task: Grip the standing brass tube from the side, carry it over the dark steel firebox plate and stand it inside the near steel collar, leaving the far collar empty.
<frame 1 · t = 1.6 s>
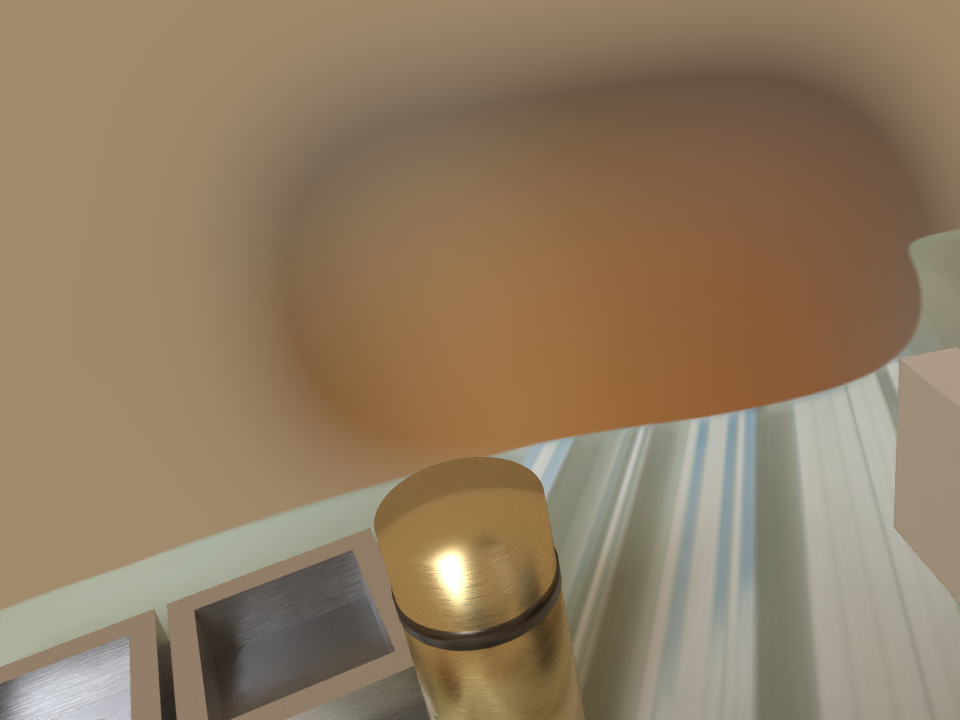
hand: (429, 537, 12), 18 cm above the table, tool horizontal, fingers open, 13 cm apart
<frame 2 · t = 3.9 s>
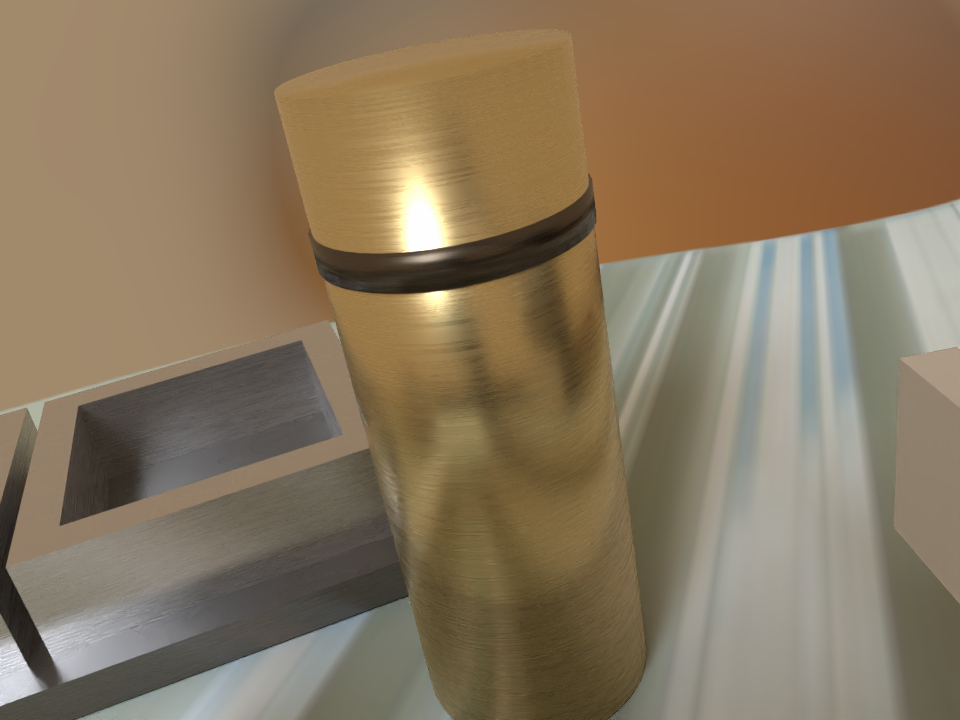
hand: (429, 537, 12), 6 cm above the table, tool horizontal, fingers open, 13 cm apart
tube: (537, 653, 19), on the table
firebox plate: (70, 583, 24), on the table
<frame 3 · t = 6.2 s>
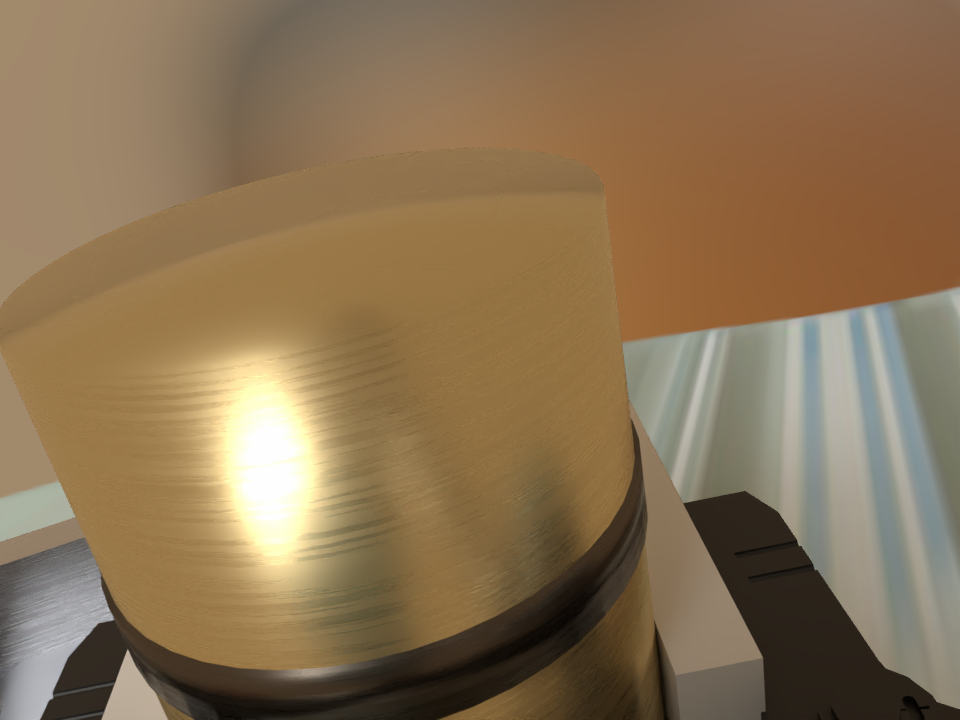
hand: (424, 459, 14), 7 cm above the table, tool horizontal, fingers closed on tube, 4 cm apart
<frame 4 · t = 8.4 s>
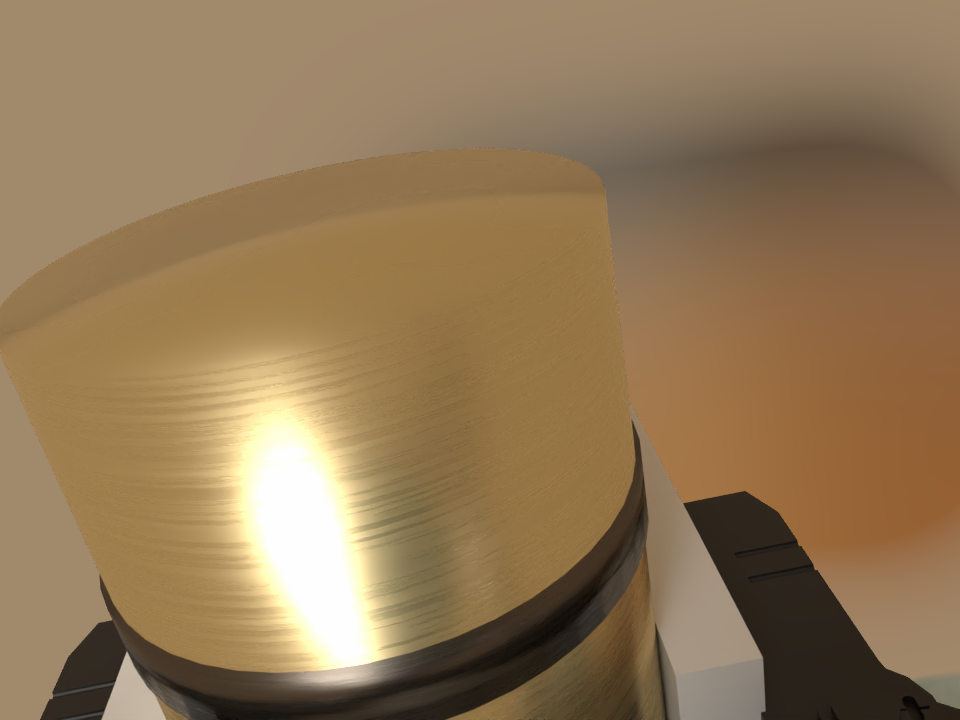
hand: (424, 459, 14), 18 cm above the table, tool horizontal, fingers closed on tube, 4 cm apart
when the fingers open (9 cm above the table, at t = 10.5 s): tube drops 2 cm, resting on firebox plate.
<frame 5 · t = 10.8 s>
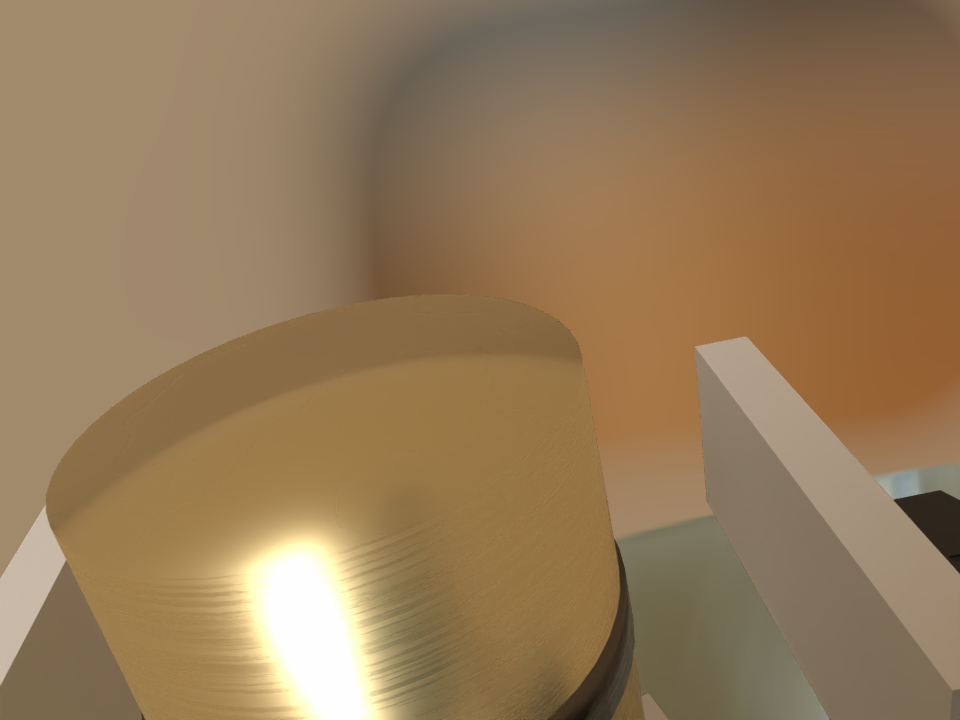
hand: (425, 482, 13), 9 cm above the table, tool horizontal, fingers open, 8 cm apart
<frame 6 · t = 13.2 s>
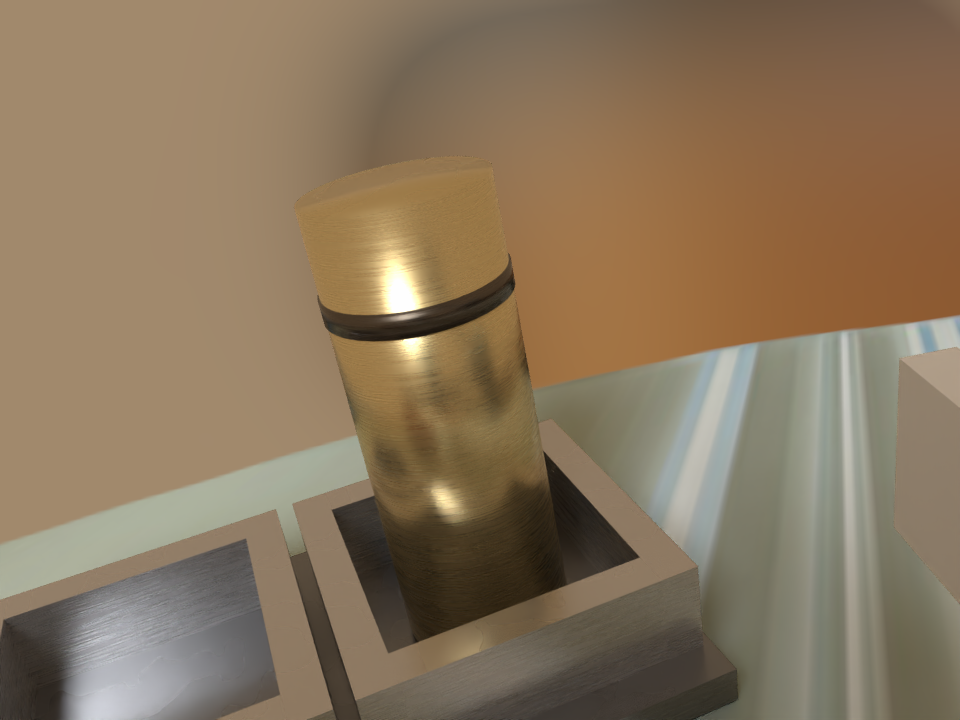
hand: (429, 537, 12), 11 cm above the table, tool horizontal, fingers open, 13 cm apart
tube: (488, 602, 25), point 1 cm above the table, touching firebox plate
firebox plate: (339, 690, 24), on the table
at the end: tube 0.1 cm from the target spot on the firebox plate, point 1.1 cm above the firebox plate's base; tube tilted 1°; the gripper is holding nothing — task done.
